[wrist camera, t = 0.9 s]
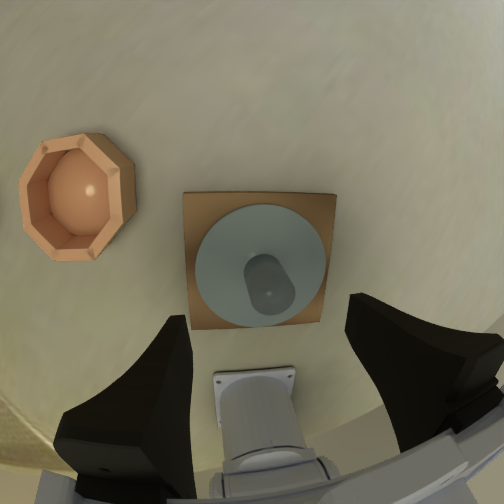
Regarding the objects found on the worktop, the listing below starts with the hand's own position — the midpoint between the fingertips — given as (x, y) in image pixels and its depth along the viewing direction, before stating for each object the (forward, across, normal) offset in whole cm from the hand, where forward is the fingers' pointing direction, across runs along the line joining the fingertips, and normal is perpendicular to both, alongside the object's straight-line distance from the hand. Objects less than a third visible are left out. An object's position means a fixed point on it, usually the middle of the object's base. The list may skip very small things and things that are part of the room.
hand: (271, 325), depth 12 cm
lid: (+10, -1, +2) cm, 10 cm away
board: (+10, -1, +2) cm, 10 cm away
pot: (+10, +11, -5) cm, 16 cm away
